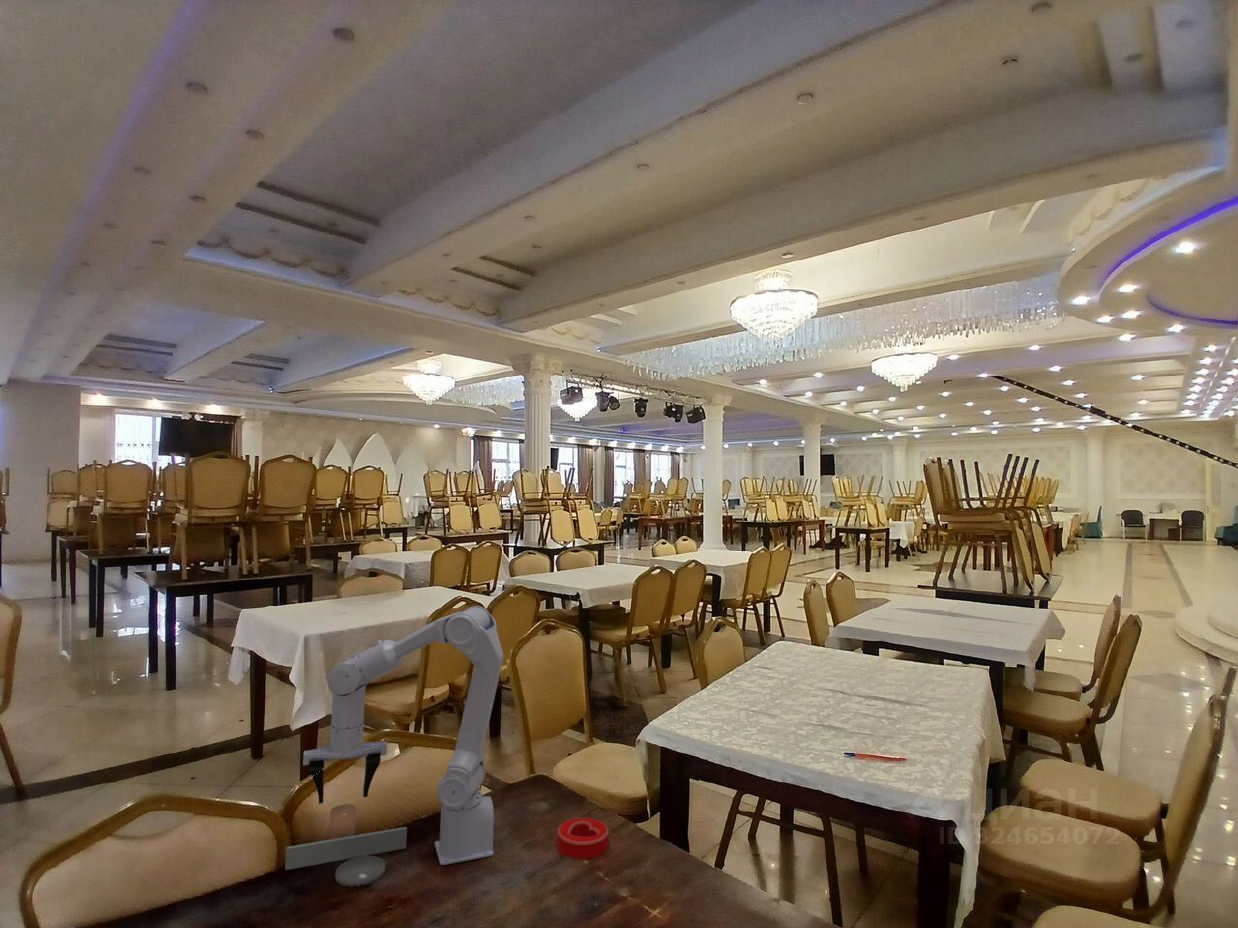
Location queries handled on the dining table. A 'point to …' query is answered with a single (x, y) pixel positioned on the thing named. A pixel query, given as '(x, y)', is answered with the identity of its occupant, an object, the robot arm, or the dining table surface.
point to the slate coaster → (360, 871)
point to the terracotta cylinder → (342, 821)
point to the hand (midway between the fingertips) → (343, 797)
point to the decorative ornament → (582, 838)
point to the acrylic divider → (345, 848)
